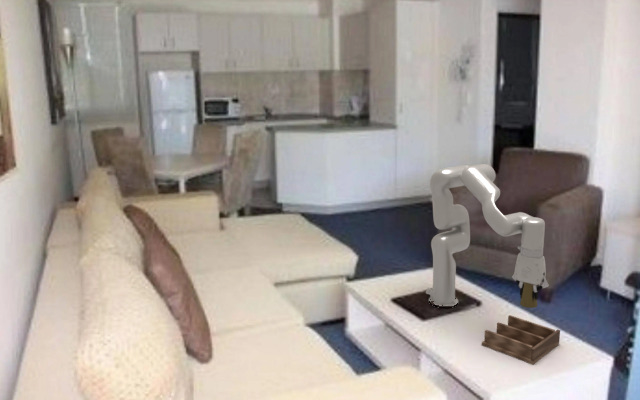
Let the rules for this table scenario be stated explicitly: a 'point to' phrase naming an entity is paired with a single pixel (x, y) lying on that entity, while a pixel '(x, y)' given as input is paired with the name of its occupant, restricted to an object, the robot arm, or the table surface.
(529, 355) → the slot rack
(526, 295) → the cork
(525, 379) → the table surface
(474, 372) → the table surface
